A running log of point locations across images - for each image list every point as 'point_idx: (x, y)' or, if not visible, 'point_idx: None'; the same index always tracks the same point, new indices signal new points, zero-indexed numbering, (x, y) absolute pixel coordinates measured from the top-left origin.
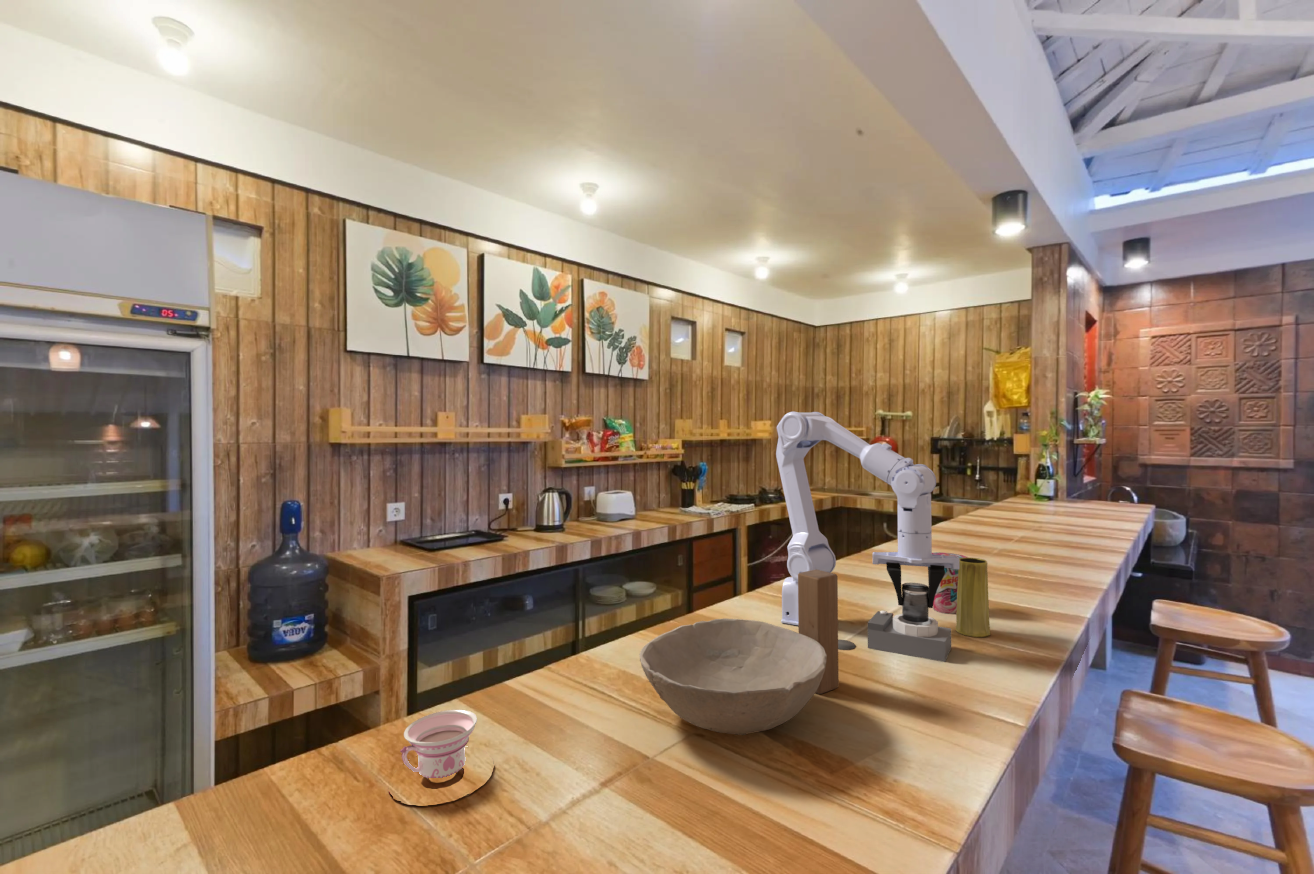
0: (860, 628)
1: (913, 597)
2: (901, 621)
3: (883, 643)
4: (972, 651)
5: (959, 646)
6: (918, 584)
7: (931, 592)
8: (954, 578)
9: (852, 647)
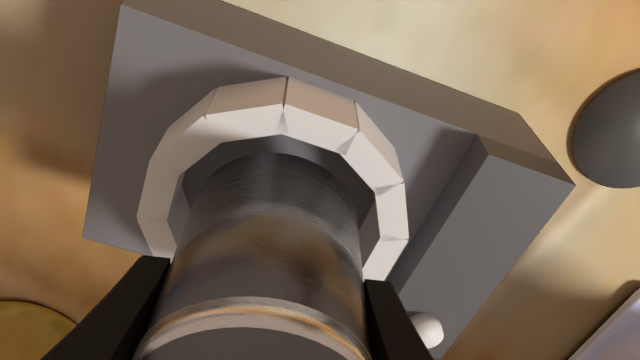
0: (470, 323)
1: (290, 280)
2: None
3: (459, 103)
4: (24, 148)
5: (82, 198)
6: None
7: (97, 348)
8: None
9: (606, 94)
